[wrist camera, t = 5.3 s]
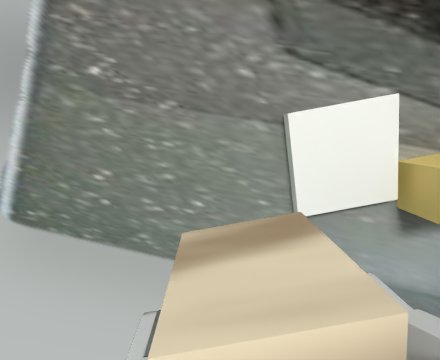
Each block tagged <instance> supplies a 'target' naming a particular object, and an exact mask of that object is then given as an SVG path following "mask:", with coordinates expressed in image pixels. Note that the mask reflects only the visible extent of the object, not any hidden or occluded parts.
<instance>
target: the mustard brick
mask: <svg viewBox="0 0 440 360" xmlns="http://www.w3.org/2000/svg"><path fill="white" fill-rule="evenodd" d="M397 208H400V209H402V210H405V211H407V212H409V213H412V214H414V215H417V216H419V217H422V218H424V219H427V220H429V221H432V222H434V223H437V224H439V225H440V154H434V155H429V156H423V157H418V158H412V159H407V160H402V161H398V199H397Z"/></svg>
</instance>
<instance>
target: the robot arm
mask: <svg viewBox="0 0 440 360" xmlns="http://www.w3.org/2000/svg"><path fill="white" fill-rule="evenodd" d="M367 274H368V275H369V276H370V277H371V278H372V279H373V280H374V281H375V282H376V283H377V284H378V285H379V286H380V287H382V288H383V289H384V290H385V291H386V292H387V293H388V294H389V295H390V296H391V297H392V298H393V299H394V300H395V301H396V302H398V303H399V304H400V305H401V306H402V307H403V308H404V309H405V310H406V311H407V312H408V333H407V356H406V360H440V318H438V317H436V316H434V315H431V314H429V313H427V312H424V311H422V310H420V309H416V310H413V309H412V308H411V307H410V306H409V305H408V304H407V303H405V302H404V301H403V300H402V299H401V298H400V297H399V296H398V295H396V294H395V293H394V292H393V291H392V290H391V289H390V288H389V287H387V286H386V285H385V284H384V283H383V282H382V281H381V280H380V279H378V278H377V277H376V276H375V275H374V274H372V273H367ZM160 312H161V310H159V311H153V312H146V313H144V314H143V316H142V317H141V320H140V322H139V325H138V328H137V330H136V333H135V336H134V338H133V341H132V344H131V347H130V349H129V352H128V355H127V357H126V360H148V355H149V351H150V348H151V344H152V341H153V337H154V334H155V330H156V326H157V323H158V319H159V316H160Z"/></svg>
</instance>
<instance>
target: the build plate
mask: <svg viewBox="0 0 440 360" xmlns="http://www.w3.org/2000/svg"><path fill="white" fill-rule="evenodd" d="M283 116H284V125H285V135H286V144H287V154H288V163H289V173H290V182H291V192H292V201H293V210H294V213H297V212H301V213H302V214H304V215H305V216H310V215H316V214H321V213H327V212H332V211H337V210H343V209H348V208H354V207H359V206H365V205H370V204H376V203H381V202H386V201H392V200H397V199H398V140H399V93H398V94H393V95H387V96H382V97H376V98H371V99H365V100H360V101H354V102H349V103H343V104H338V105H332V106H327V107H321V108H316V109H311V110H305V111H300V112H294V113H289V114H284V115H283Z"/></svg>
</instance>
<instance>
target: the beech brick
mask: <svg viewBox="0 0 440 360" xmlns="http://www.w3.org/2000/svg"><path fill="white" fill-rule="evenodd" d="M407 333H408V312H407V311H406V310H405V309H404V308H403V307H402V306H401V305H400V304H399V303H398V302H396V301H395V300H394V299H393V298H392V297H391V296H390V295H389V294H388V293H387V292H386V291H385V290H384V289H383V288H382V287H380V286H379V285H378V284H377V283H376V282H375V281H374V280H373V279H372V278H371V277H370V276H369V275H368V274H367V273H366V272H364V271H363V270H362V269H361V268H360V267H359V266H358V265H357V264H356V263H355V262H354V261H353V260H352V259H351V258H349V257H348V256H347V255H346V254H345V253H344V252H343V251H342V250H341V249H340V248H339V247H338V246H337V245H336V244H335V243H333V242H332V241H331V240H330V239H329V238H328V237H327V236H326V235H325V234H324V233H323V232H322V231H321V230H320V229H319V228H317V227H316V226H315V225H314V224H313V223H312V222H311V221H310V220H309V219H308V218H307V217H306V216H305V215H304V214H302V213H301V212H297V213H291V214H286V215H280V216H275V217H269V218H264V219H258V220H252V221H247V222H241V223H236V224H230V225H225V226H219V227H214V228H208V229H202V230H197V231H191V232H186V233H182V237H181V240H180V244H179V248H178V251H177V255H176V258H175V262H174V265H173V269H172V273H171V276H170V280H169V283H168V287H167V291H166V294H165V298H164V302H163V305H162V308H161V312H160V316H159V319H158V323H157V326H156V330H155V334H154V337H153V341H152V344H151V348H150V351H149V355H148V360H406V356H407Z"/></svg>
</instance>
